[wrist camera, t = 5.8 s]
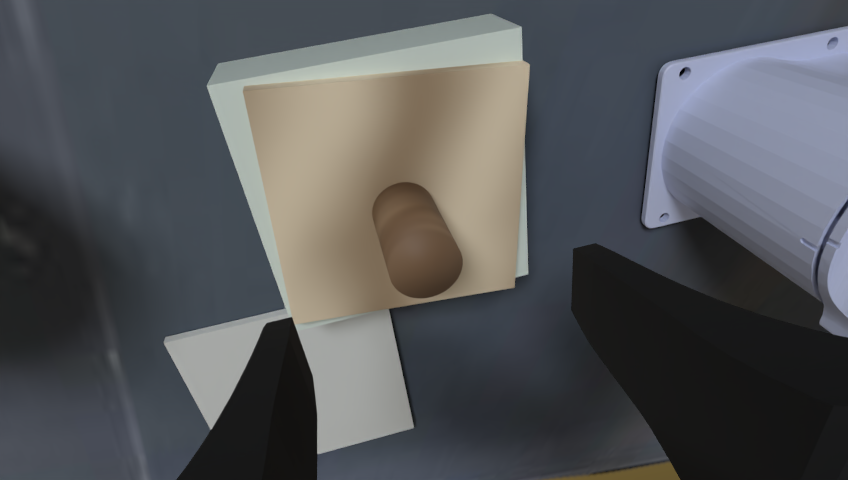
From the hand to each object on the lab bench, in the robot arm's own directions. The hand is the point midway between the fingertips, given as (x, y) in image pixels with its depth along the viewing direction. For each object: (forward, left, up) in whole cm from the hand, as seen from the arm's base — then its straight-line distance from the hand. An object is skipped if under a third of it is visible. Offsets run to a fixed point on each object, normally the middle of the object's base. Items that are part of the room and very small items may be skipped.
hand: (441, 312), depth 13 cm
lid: (0, 0, -7) cm, 7 cm away
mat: (+6, +11, -10) cm, 16 cm away
